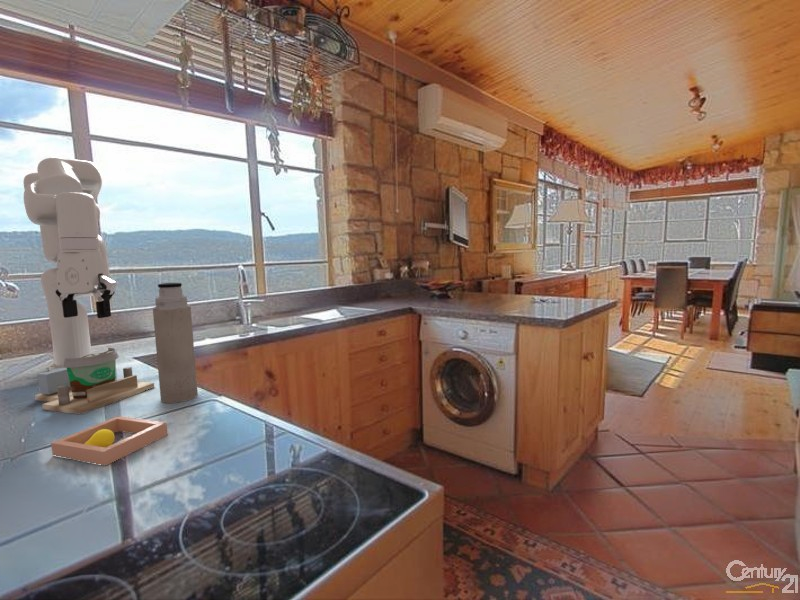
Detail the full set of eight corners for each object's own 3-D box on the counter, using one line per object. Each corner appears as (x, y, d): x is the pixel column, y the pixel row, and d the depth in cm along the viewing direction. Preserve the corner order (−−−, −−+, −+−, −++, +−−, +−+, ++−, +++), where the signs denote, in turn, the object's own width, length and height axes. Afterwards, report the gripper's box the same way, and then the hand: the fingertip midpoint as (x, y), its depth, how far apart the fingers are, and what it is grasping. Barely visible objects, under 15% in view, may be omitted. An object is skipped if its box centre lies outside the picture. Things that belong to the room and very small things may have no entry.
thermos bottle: (182, 390, 107) (173, 281, 104) (205, 394, 104) (196, 281, 101) (153, 400, 100) (142, 284, 97) (176, 405, 97) (165, 284, 94)
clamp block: (40, 393, 103) (37, 373, 102) (81, 381, 112) (79, 363, 112) (48, 394, 102) (46, 374, 101) (90, 382, 111) (88, 363, 111)
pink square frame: (52, 456, 73) (51, 442, 73) (119, 427, 84) (118, 416, 84) (105, 466, 69) (103, 451, 69) (167, 434, 81) (166, 422, 80)
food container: (88, 402, 97) (83, 359, 95) (67, 400, 98) (62, 359, 97) (133, 385, 108) (129, 347, 107) (114, 384, 110) (110, 347, 109)
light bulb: (120, 445, 77) (114, 431, 75) (82, 465, 73) (75, 451, 71) (113, 435, 79) (107, 422, 77) (76, 455, 75) (68, 441, 73)
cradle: (16, 405, 99) (13, 384, 98) (96, 381, 117) (94, 363, 116) (80, 414, 92) (77, 391, 92) (154, 387, 110) (152, 368, 110)
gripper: (34, 246, 98) (42, 319, 100) (96, 245, 94) (103, 320, 96) (65, 246, 105) (72, 314, 107) (124, 245, 102) (130, 315, 104)
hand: (87, 317), depth 102 cm, fingers open, 9 cm apart
